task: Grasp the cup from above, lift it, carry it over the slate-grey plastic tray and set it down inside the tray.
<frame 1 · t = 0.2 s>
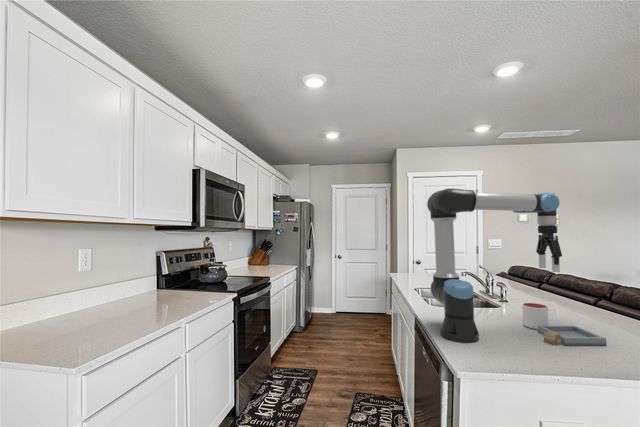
hand: (548, 269, 151), 27 cm above the counter, fingers open, 13 cm apart
oak block: (552, 343, 129), on the counter
tray: (570, 338, 134), on the counter
cup: (535, 327, 150), on the counter
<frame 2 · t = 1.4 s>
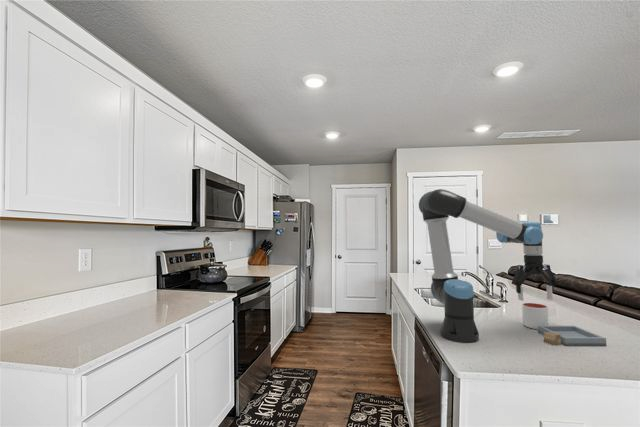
hand: (535, 299, 151), 13 cm above the counter, fingers open, 13 cm apart
nothing on the counter moved.
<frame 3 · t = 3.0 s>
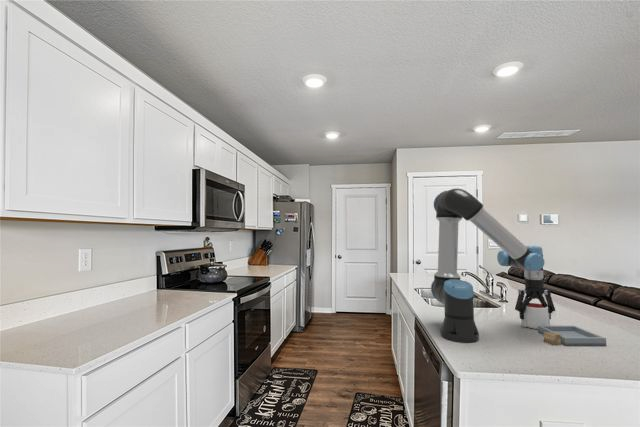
hand: (535, 326, 150), 0 cm above the counter, fingers closed on cup, 10 cm apart
cup: (535, 327, 150), on the counter, touching gripper
everything else where it was.
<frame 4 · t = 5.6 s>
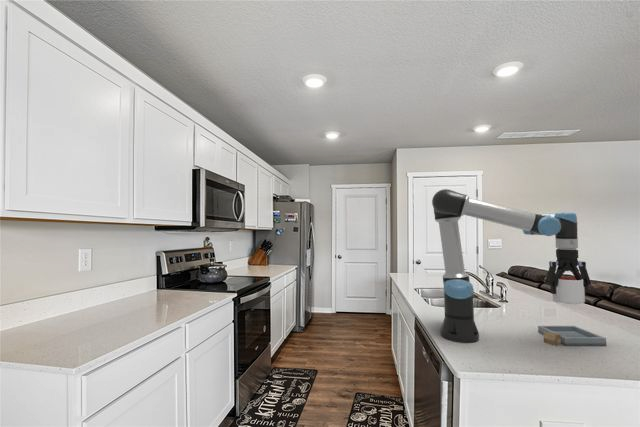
hand: (568, 301, 135), 15 cm above the counter, fingers closed on cup, 10 cm apart
cup: (568, 302, 135), point 15 cm above the counter, touching gripper
everything else where it was.
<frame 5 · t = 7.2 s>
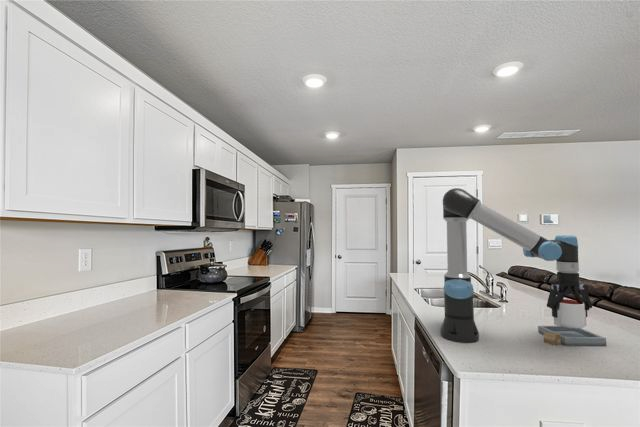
hand: (570, 325, 134), 6 cm above the counter, fingers closed on cup, 10 cm apart
cup: (570, 326, 134), point 5 cm above the counter, touching gripper
everything else where it was.
when the fingers open (3 cm above the counter, at t = 8.4 s): cup drops 1 cm, resting on tray.
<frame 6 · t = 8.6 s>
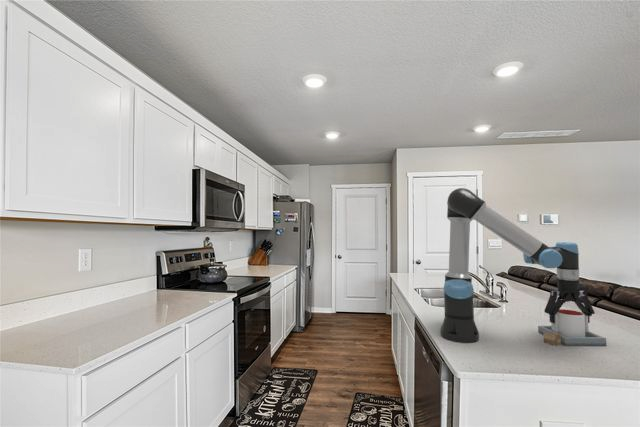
hand: (569, 330, 134), 3 cm above the counter, fingers open, 12 cm apart
cup: (570, 336, 134), point 1 cm above the counter, touching tray
everything else where it was.
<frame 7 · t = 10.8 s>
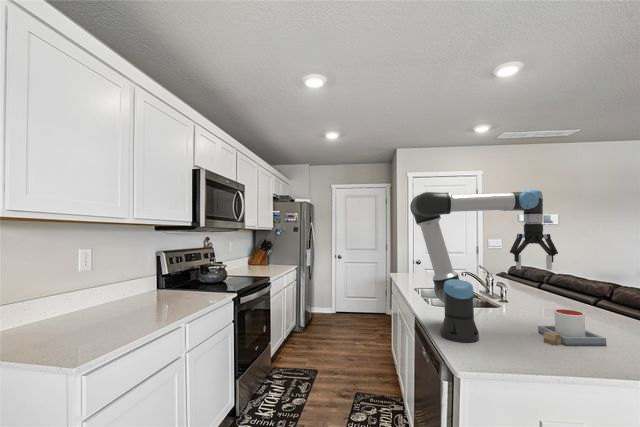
hand: (533, 269, 148), 27 cm above the counter, fingers open, 13 cm apart
nothing on the counter moved.
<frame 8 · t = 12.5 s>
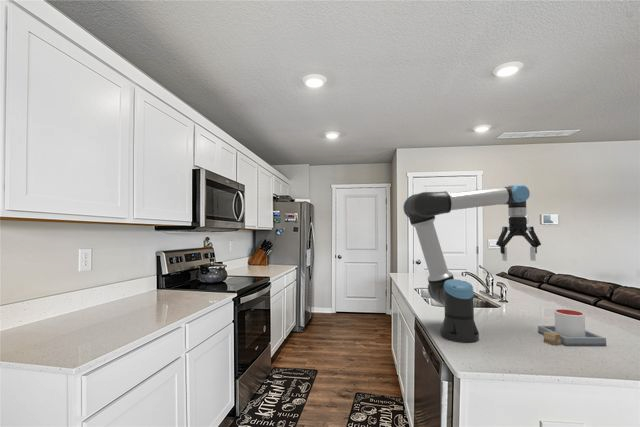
hand: (518, 260, 154), 31 cm above the counter, fingers open, 13 cm apart
nothing on the counter moved.
at the end: cup 0.0 cm from the tray (horizontally); cup tilted 0°; cup touching tray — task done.
